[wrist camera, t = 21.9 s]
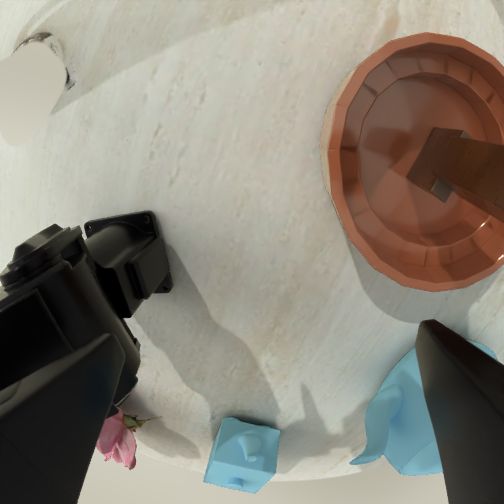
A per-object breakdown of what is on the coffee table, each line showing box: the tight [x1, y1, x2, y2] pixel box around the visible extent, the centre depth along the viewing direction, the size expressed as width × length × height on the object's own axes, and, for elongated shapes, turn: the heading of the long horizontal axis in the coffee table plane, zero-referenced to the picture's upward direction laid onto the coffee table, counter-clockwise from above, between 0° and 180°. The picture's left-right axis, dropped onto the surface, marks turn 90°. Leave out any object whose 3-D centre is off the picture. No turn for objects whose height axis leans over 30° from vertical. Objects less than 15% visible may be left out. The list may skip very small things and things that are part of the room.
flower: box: [96, 406, 160, 470], centre depth 29 cm, size 11×10×10 cm
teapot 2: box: [349, 340, 498, 475], centre depth 19 cm, size 13×11×18 cm
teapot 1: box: [203, 417, 280, 493], centre depth 27 cm, size 12×6×8 cm, turn 165°
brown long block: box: [406, 127, 504, 223], centre depth 10 cm, size 4×2×13 cm, turn 153°
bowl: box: [319, 32, 504, 292], centre depth 15 cm, size 14×14×5 cm
